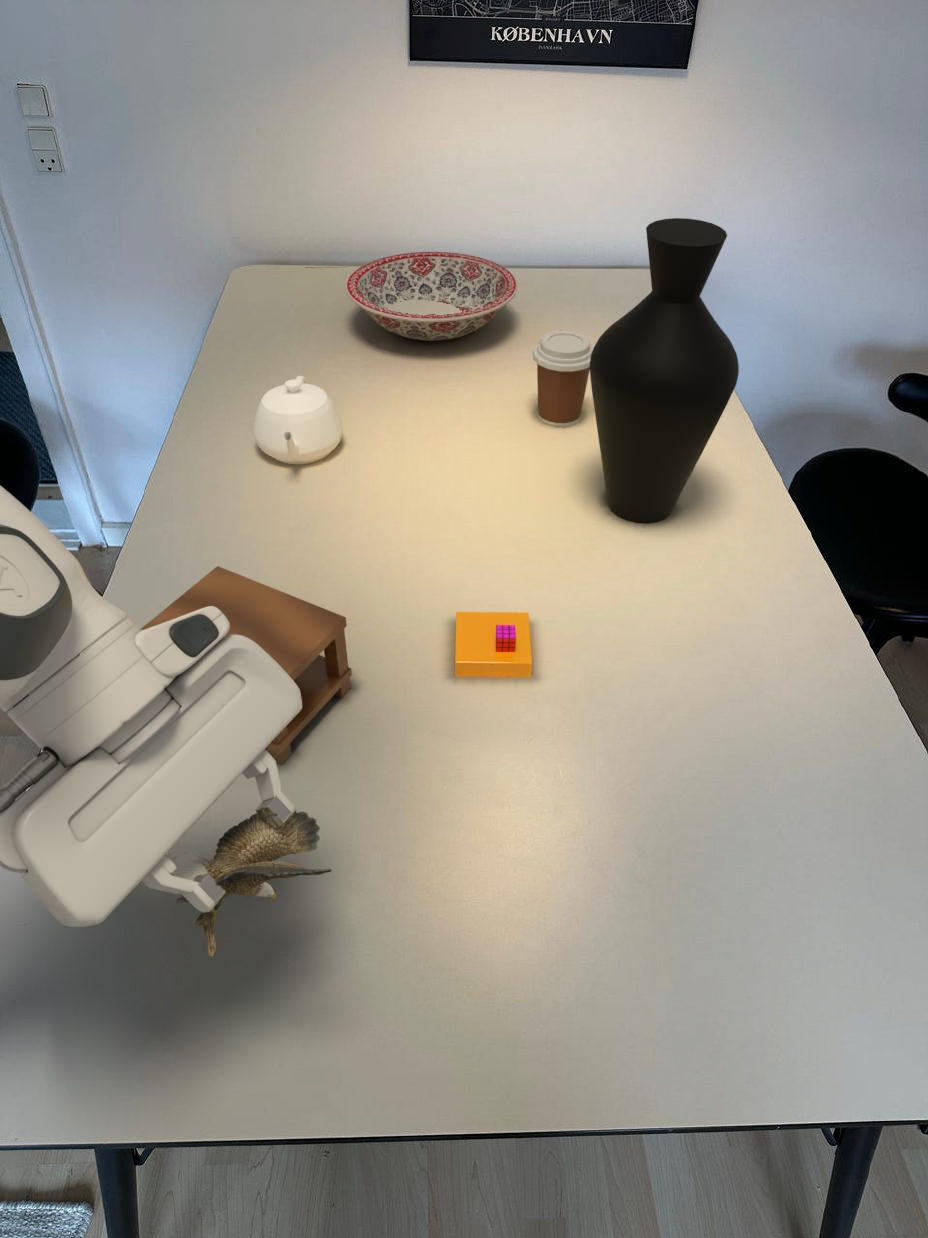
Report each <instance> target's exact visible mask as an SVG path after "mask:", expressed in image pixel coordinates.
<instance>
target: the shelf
mask: <svg viewBox="0 0 928 1238" xmlns="http://www.w3.org/2000/svg"><path fill="white" fill-rule="evenodd" d="M208 606H214V607H216V608H218V609H219V610H220V611H221V612H222V613H223V614H224V615H225V616H226V618H227V619H228V621H229V624H230V629H229V631H228V633H227V634H226V635H225V636H228V635H233V634H235V635H242V636H245V637H247V638H249V639H251V640H252V641H254V642H255V643H256V644H258V645H259V646H260V647H261V648H262V649H263V650H264V651H265V652H267V653H268V654H269V655H270V656H271V657H272V658H273V659H274V660H275V661H276V662H277V663H278V664H279V665H280V666H281V667H282V669H283V670H284V671H285V672H286V673H287V674H288V675H289V676H290V677H291V678H292V680H293V681H294V682H295V683H296V685H297V686H298V688H299V689H300V693H301V699H302V709H301V711H300V712H299V713H298V714H297V715H296V716H295V717H294V718H293V719H292V720H291V721H290V722H289V724H288V725H287V726H286V727H285V728H284V729H283V730H282V731H281V732H280V733H279V734H278V735H277V736H276V737H275V738H274V740H273V741H272V742H271V743H270V744H269V745H268V746H267V747H266V748H265V749H266V750H267V751H268V753H269V754H270V755H271V756H272V757H273V758H274V759H275V761H276V764H279V765H280V766H283V765H284V764H285V762H286V761H287V760H288V759H289V758H290V757H291V756H292V754H293V752H292V746H291V743H292V742H293V740H295V738H296V737H297V736H298V735H299V734H300V733H301V732H302V731H303V730H304V728H306V727H307V725H308V724H309V723H310V722H312V720H313V719H314V717H315V716H316V715H317V714H318V713H319V712H320V711H321V710H322V709H323V708H324V707H325V706H326V704H328V702H329V701H330V700H331V699H332V698H333V697H334V696H336V697H339V698H341V699H343V698H344V697H345V696H346V694H347V693H348V692H349V691H350V690H351V689H352V688H351V677H352V675H353V671H352V668H351V667H349V661H348V651H347V650H348V649H347V642H346V641H347V640H346V633H345V629H346V628H347V626H348V624H347V617H346V616H344V615H341V614H339V613H336V612H334V611H331V610H328V609H326V608H324V607H322V606H319V605H317V604H314V603H312V602H309V601H306V600H304V599H301V598H299V597H296V596H294V595H292V594H289V593H286V592H284V591H282V590H279V589H277V588H274V587H271V586H270V585H267V584H265V583H261V582H259V581H256V580H254V579H251V578H249V577H246V576H244V575H242V574H238V573H236V572H234V571H231V570H229V569H226V568H224V567H221V566H218V565H217V566H216V567H214V568H213V569H212V570H210V571H209V572H208V573H207V574H206V575H204V576H203V577H202V578H201V579H200V580H198V581H197V582H196V583H195V584H193V585H192V586H191V587H190V588H189V589H187V590H186V591H185V592H184V593H182V594H181V595H180V596H179V597H178V598H176V599H175V600H174V601H173V602H171V604H169V605H168V606H166V608H164V609H163V610H162V611H161V612H159V613H158V614H157V615H155V616H154V617H153V618H152V619H151V620H150V621H148V622H147V623H146V624H145V625H144V626H142V627H141V628H139V629H140V630H145V629H147V628H150V627H153V626H156V625H159V624H161V623H164V622H167V621H170V620H172V619H175V618H178V617H180V616H183V615H186V614H188V613H191V612H194V611H196V610H199V609H201V608H204V607H208ZM225 636H224V637H225ZM322 652H323V654H324V656H323V655H321V654H322Z"/></svg>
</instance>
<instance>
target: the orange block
mask: <svg viewBox="0 0 928 1238" xmlns="http://www.w3.org/2000/svg"><path fill="white" fill-rule="evenodd" d="M530 626H531V625H530V613H529V612H518V611H515V612H512V611H511V612H509V611H508V612H506V611H505V612H504V611H503V612H502V611H456V613H455V651H454V653H455V655H454V656H455V657H454V660H455V661H454V676H455V677H456V678H457V677H458V678H459V677H461V678H462V677H464V678H466V677H467V678H468V677H469V678H531V677H532V671H533V655H532V644H531V643H532V642H531V641H532V640H531V627H530Z"/></svg>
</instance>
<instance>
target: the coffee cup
mask: <svg viewBox="0 0 928 1238" xmlns="http://www.w3.org/2000/svg"><path fill="white" fill-rule="evenodd" d="M593 348H594V347H593V346H592V345H591V340H590V339H589V338H588V337H587V336H585V335H584V334H582V333H579V332H577V331H572V330H555V331H550V332H549V333H546V334H544V335H543V336H542V338H541V339H540V342H538V343H537V344H536V345H535V346H534V347H533V349H532V359H533V361H534V362H535V363H536V373H537V374H536V375H537V376H536V377H537V418H538V420H539V421H540V423H543V424H545V425H548V426H551V427H554V428H568V427H572V426H574V425H576V424H578V423H579V422H580V420H581V416H582V411H583V405H584V400H585V395H586V390H587V385H588V382H589V381H588V380H589V375H590V367H589V366H590V359H591V354H592V351H593Z"/></svg>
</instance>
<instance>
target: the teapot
mask: <svg viewBox="0 0 928 1238" xmlns="http://www.w3.org/2000/svg"><path fill="white" fill-rule="evenodd" d="M252 430H253V432H252V433H253V438H254V441H255V443H256V445H257V446H258V448H259V449H260V450H261V451H262V452H263V453H265V454H266V455H268V456H269V457H271V458H273V459H274V460H276V461H278V462H280V463H283V464H288V465H308V464H311V463H315V462H318V461H320V460H323V459H324V458H326V457H327V456H328V455H330V454H331V452H332V451H334V449H336V447H337V446H339V444H340V442H341V440H342V436H343V432H344V427H343V423H342V419H341V417H340V414H339V412H338V410H337V408H336V405H335V404H334V402H333V400H332V398H331V397H330V396H329V394H328V393H327V392H326V390H324V389H323V388H322V387H320V386H318V385H315V384H312V383H307V382H306V378H305V376H304V375H297V376H296V378H295V379H294V378H293V379H289V380H286V381H285V382H284V384H281V385H277V386H275V387H272V388H271V389H269V390H267V391H266V392H265V393H264V394H263V396H262V398H261V400H260V402H259V403H258V405H257V410H256V413H255V418H254V423H253V429H252Z"/></svg>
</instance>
